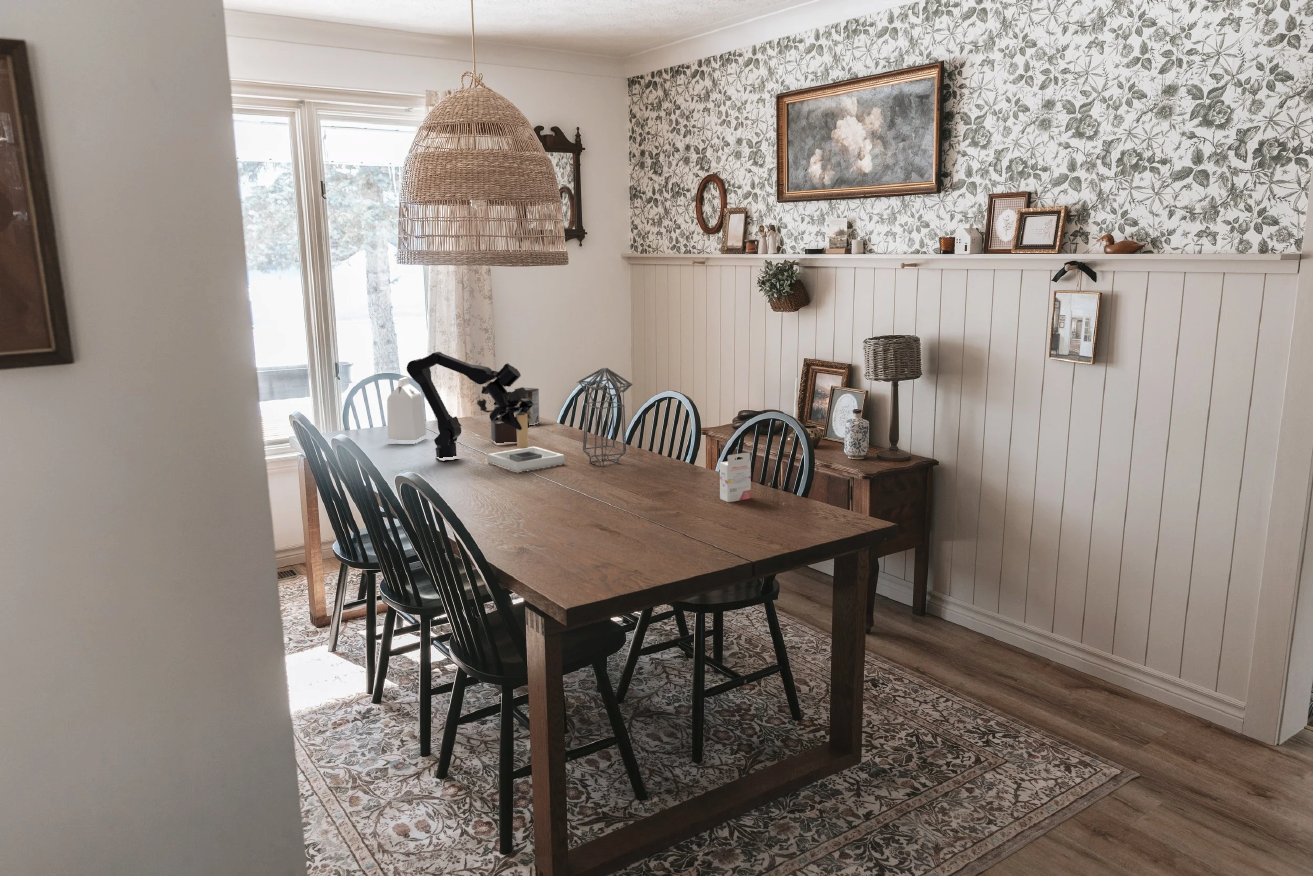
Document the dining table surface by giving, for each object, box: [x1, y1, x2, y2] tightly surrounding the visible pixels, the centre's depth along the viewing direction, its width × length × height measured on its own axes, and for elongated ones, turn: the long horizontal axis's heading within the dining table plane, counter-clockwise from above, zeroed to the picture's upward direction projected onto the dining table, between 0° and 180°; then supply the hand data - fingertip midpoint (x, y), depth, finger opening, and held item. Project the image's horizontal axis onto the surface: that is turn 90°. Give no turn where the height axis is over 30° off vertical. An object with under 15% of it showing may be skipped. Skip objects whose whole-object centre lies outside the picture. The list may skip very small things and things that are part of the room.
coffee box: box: [514, 387, 540, 424], centre depth 404 cm, size 9×6×16 cm
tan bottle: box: [516, 412, 529, 449], centre depth 325 cm, size 4×4×13 cm
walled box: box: [487, 446, 566, 472], centre depth 329 cm, size 20×20×4 cm
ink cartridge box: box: [719, 452, 752, 503], centre depth 279 cm, size 9×5×15 cm, turn 117°
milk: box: [386, 376, 427, 440], centre depth 368 cm, size 12×12×26 cm
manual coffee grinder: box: [476, 398, 517, 443], centre depth 364 cm, size 16×11×18 cm
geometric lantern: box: [576, 367, 633, 467], centre depth 325 cm, size 16×16×35 cm
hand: (525, 428), depth 324 cm, fingers closed on tan bottle, 4 cm apart
